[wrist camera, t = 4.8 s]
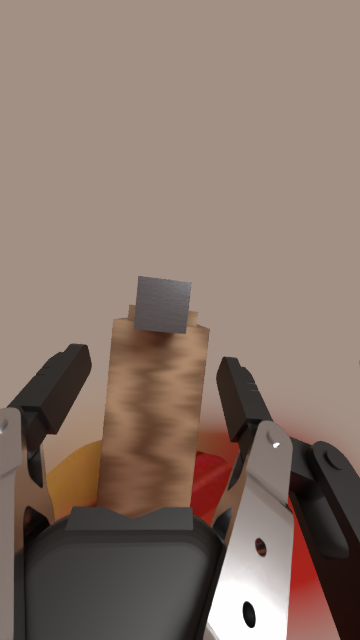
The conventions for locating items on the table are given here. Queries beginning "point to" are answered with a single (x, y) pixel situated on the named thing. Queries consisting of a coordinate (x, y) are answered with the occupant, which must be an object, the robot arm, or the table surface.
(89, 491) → the table surface
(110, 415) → the walnut stand
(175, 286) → the lever bar
